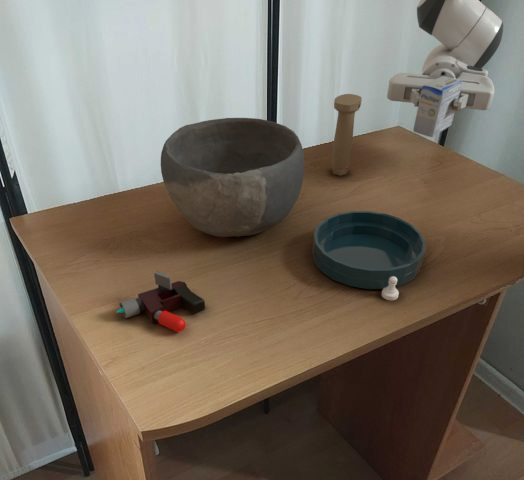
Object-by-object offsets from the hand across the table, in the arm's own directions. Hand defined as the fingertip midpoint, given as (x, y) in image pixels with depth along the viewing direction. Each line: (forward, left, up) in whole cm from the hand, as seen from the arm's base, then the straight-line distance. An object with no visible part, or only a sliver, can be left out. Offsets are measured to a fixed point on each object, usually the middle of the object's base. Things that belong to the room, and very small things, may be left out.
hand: (437, 104), depth 102 cm
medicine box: (0, -1, -5) cm, 5 cm away
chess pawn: (+2, +42, -16) cm, 45 cm away
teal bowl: (+7, +33, -15) cm, 37 cm away
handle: (+17, +2, -16) cm, 23 cm away
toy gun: (+33, +57, -16) cm, 68 cm away
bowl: (+32, +28, -16) cm, 45 cm away
